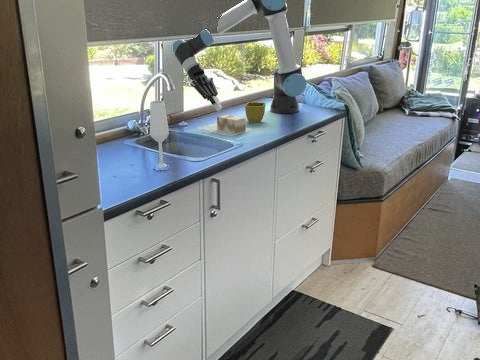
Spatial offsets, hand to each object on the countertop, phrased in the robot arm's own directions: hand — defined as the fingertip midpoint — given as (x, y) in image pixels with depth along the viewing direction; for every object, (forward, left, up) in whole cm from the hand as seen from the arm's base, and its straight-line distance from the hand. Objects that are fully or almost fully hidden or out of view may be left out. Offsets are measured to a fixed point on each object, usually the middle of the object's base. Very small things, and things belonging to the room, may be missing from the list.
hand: (219, 109), depth 230 cm
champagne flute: (+6, +59, -10) cm, 60 cm away
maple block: (-1, 0, -6) cm, 6 cm away
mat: (-3, +1, -9) cm, 10 cm away
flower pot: (-13, -16, -10) cm, 23 cm away
